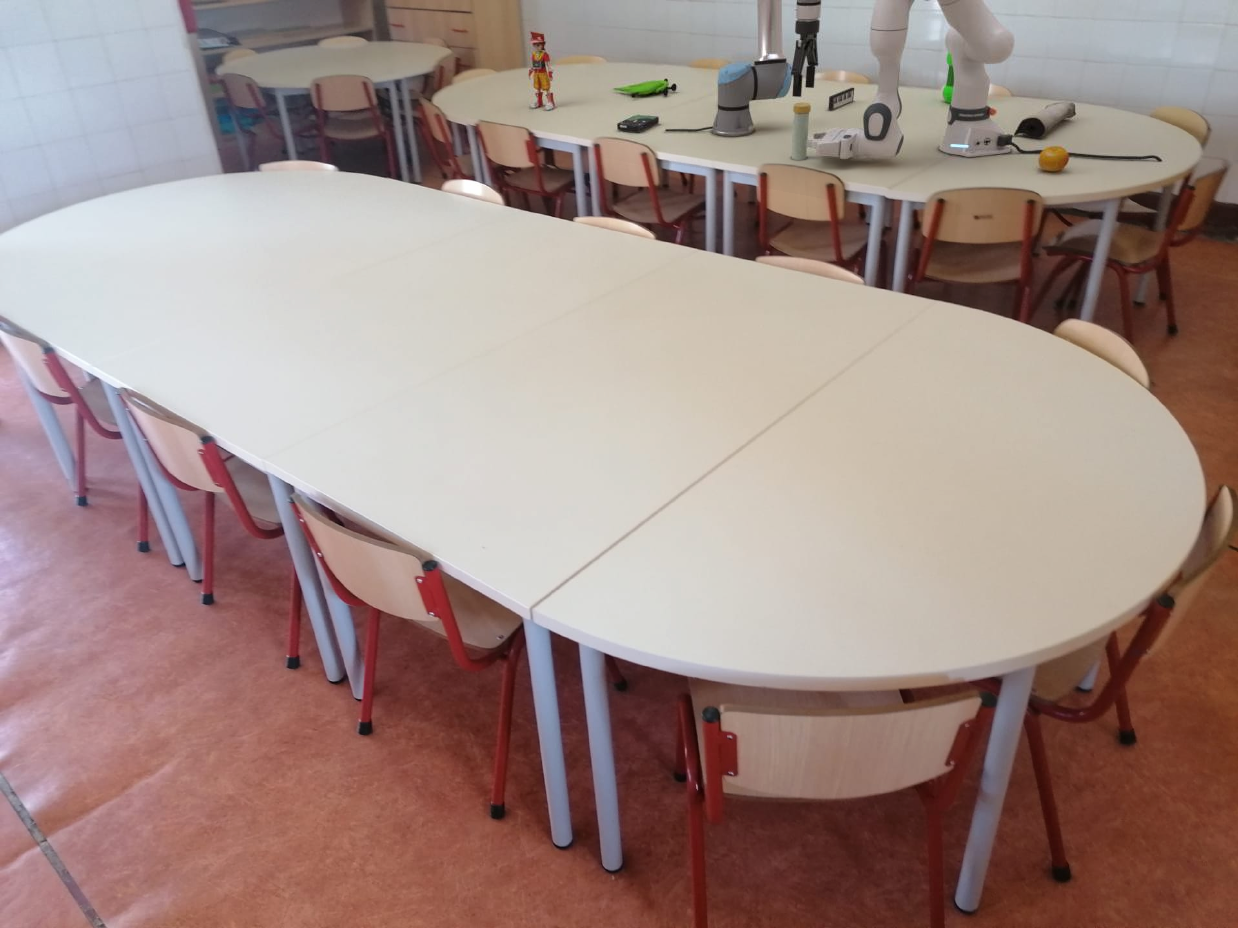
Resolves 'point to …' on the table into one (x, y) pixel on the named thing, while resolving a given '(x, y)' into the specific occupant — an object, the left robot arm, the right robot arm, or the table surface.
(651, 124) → the disk drive
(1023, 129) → the rolled mat
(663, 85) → the toy
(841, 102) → the midi keyboard
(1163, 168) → the table surface
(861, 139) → the right robot arm
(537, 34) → the toy
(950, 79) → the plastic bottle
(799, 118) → the jar
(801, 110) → the lid
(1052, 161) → the fruit
